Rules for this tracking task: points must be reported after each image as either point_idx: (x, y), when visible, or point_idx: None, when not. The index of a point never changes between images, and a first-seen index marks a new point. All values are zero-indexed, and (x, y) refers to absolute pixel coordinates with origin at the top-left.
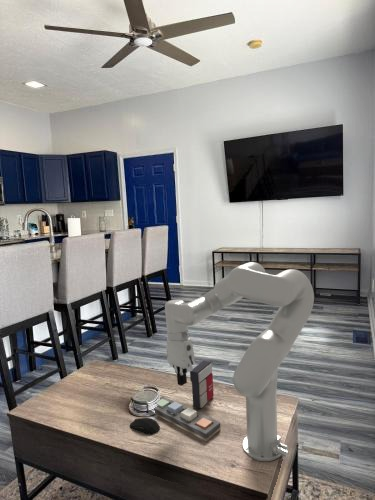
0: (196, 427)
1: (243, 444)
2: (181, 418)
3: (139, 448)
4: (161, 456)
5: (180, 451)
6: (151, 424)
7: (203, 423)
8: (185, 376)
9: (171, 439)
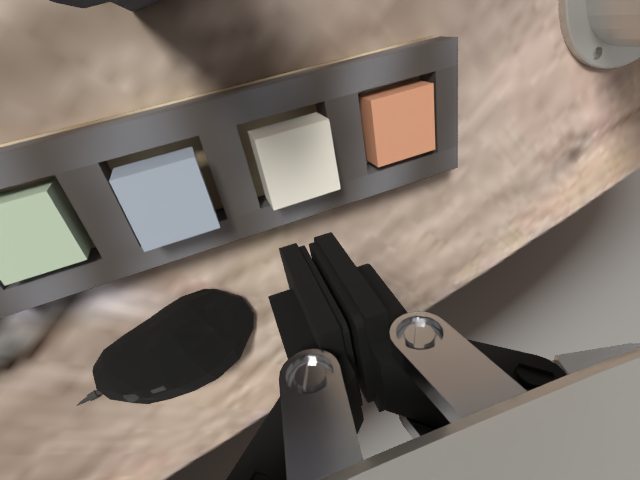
0: (394, 177)
1: (577, 41)
2: None
3: None
4: None
5: (403, 269)
6: (225, 346)
7: (410, 136)
8: (398, 311)
9: None
